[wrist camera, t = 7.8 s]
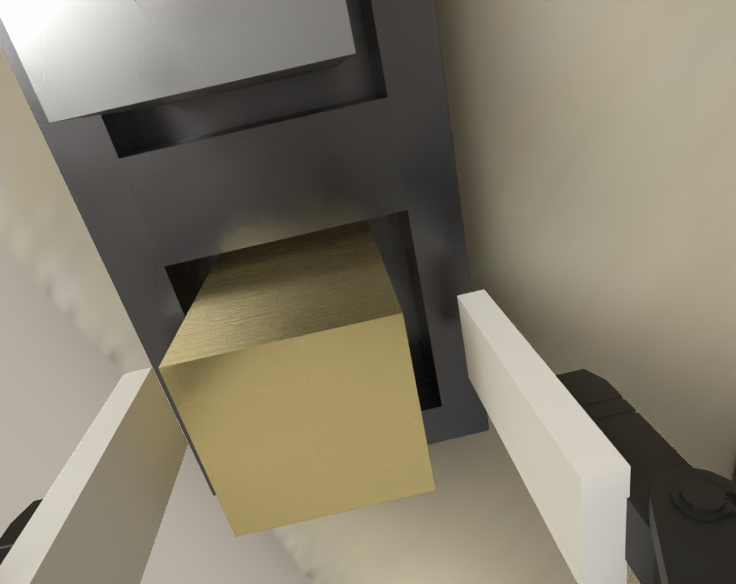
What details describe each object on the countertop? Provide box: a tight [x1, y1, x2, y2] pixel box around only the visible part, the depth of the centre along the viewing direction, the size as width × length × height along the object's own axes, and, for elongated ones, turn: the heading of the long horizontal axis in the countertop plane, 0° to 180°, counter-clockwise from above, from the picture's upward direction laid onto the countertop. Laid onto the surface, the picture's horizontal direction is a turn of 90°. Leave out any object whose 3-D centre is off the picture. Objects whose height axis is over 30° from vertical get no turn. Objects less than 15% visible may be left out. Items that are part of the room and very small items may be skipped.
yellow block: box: [159, 220, 436, 536], centre depth 14 cm, size 5×5×7 cm
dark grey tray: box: [0, 0, 489, 495], centre depth 14 cm, size 20×10×3 cm, turn 12°
